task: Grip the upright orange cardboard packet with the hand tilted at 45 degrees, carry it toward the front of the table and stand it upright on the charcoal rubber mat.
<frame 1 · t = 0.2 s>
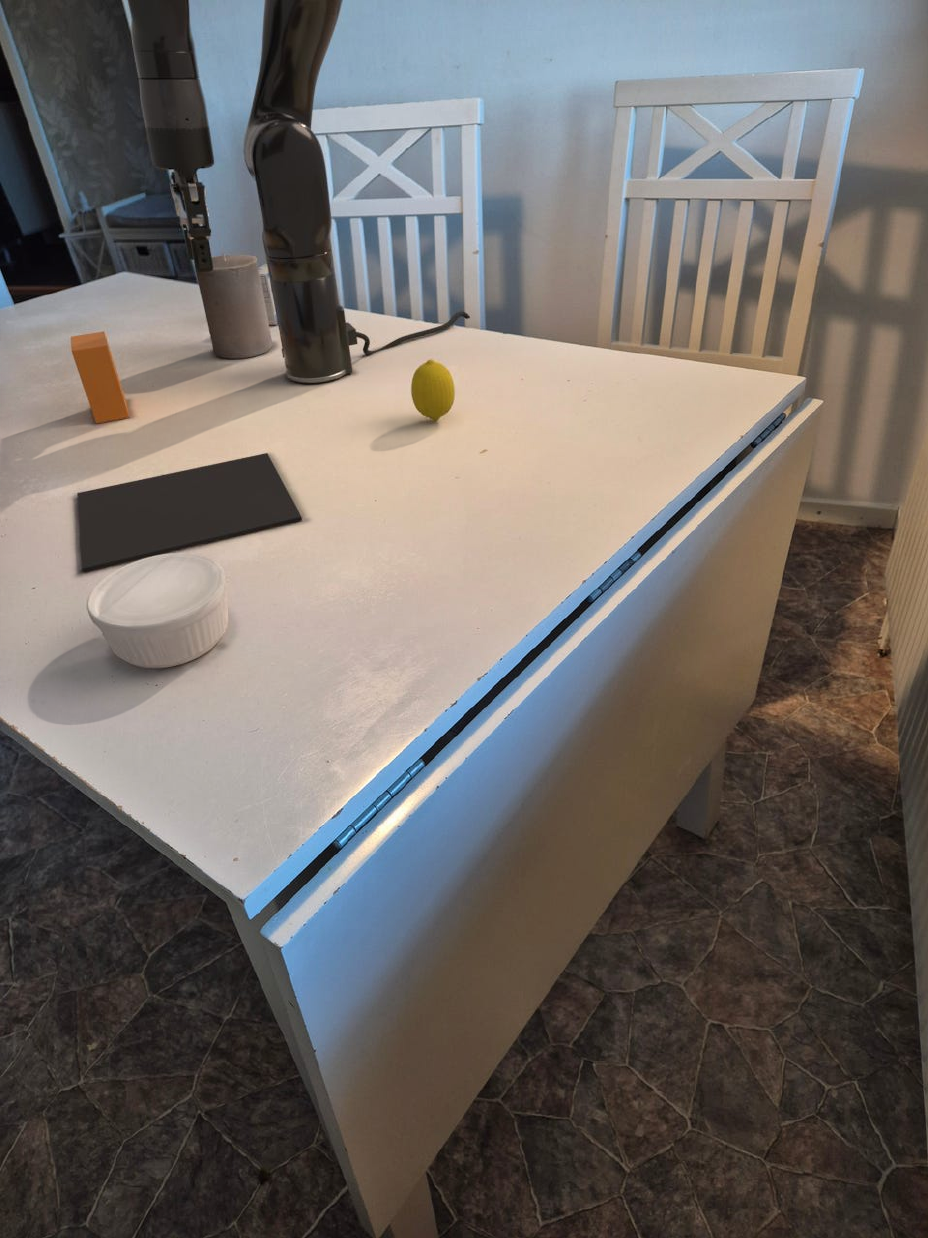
hand: (200, 264, 108), 17 cm above the table, tool pointing down, fingers open, 8 cm apart
ramekin: (173, 638, 70), on the table
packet: (111, 412, 114), on the table
lemon: (435, 422, 105), on the table
medicine box: (273, 320, 148), on the table
mat: (185, 508, 89), on the table
pillar candle: (244, 350, 134), on the table
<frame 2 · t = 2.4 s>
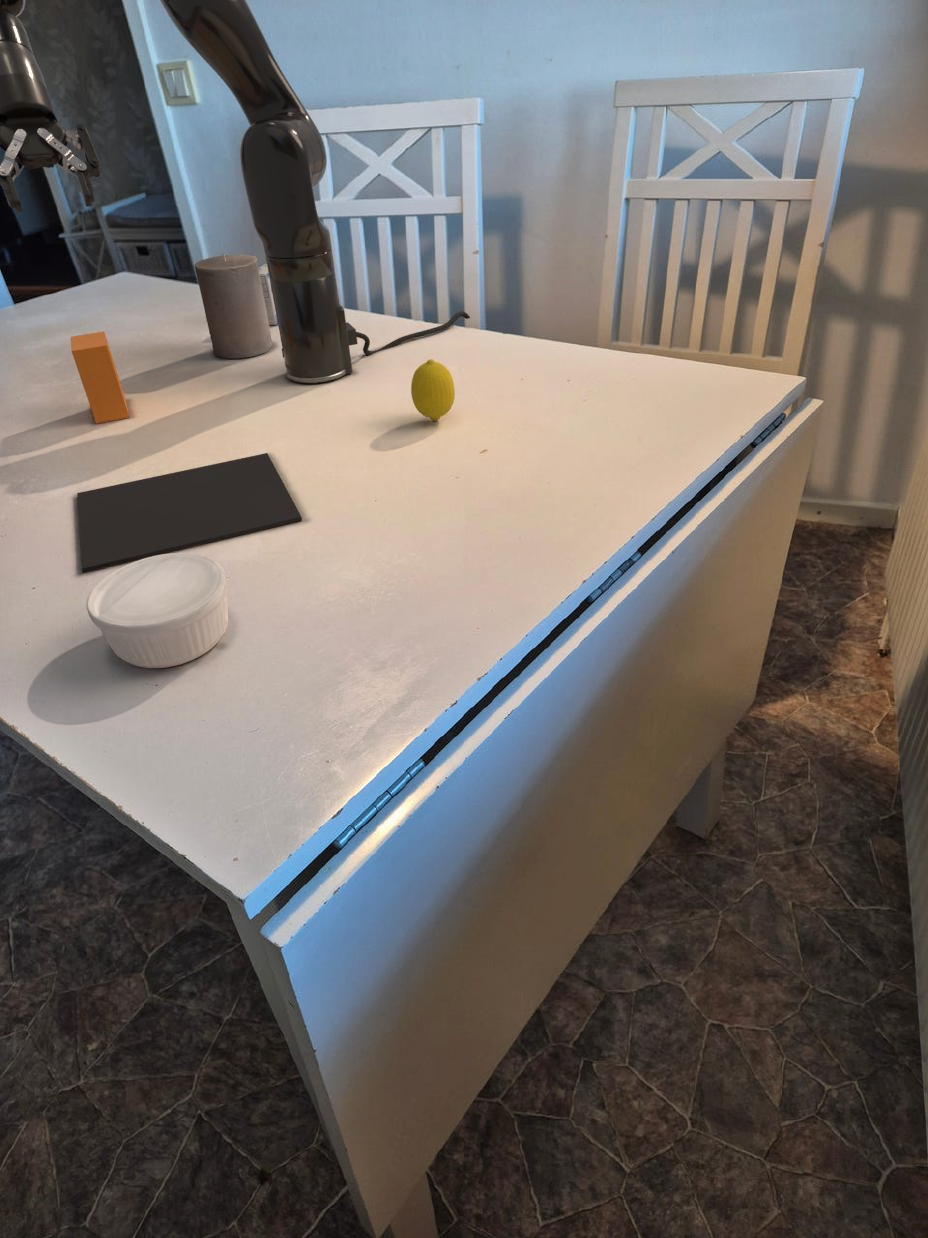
hand: (54, 205, 107), 25 cm above the table, tool tilted 40°, fingers open, 8 cm apart
nothing on the table moved.
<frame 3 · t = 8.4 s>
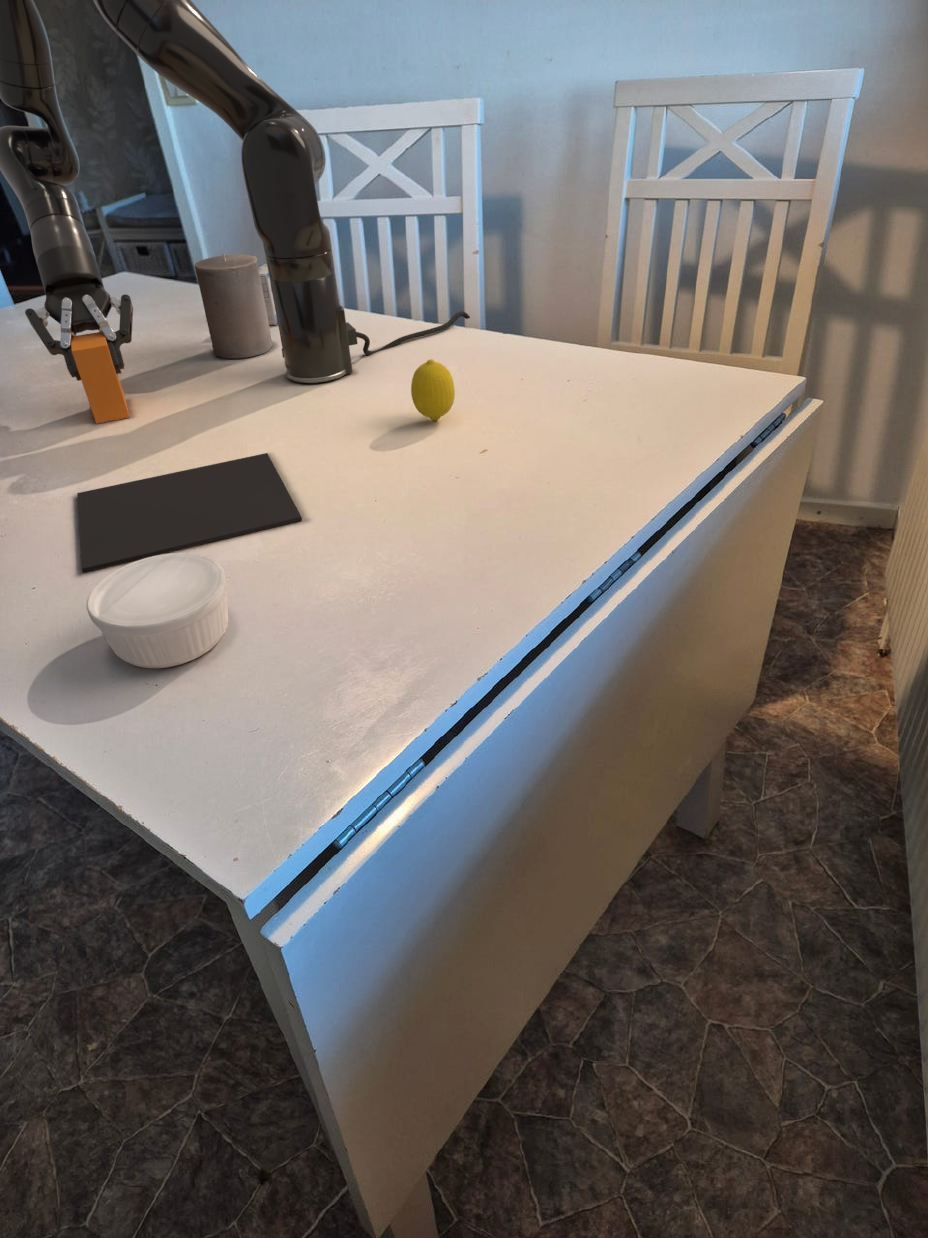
hand: (98, 373, 109), 6 cm above the table, tool tilted 45°, fingers closed on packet, 4 cm apart
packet: (111, 412, 114), on the table, touching gripper
everything else where it was.
when the fingers open (7 cm above the table, at t = 19.9 s): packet stays where it is, resting on mat.
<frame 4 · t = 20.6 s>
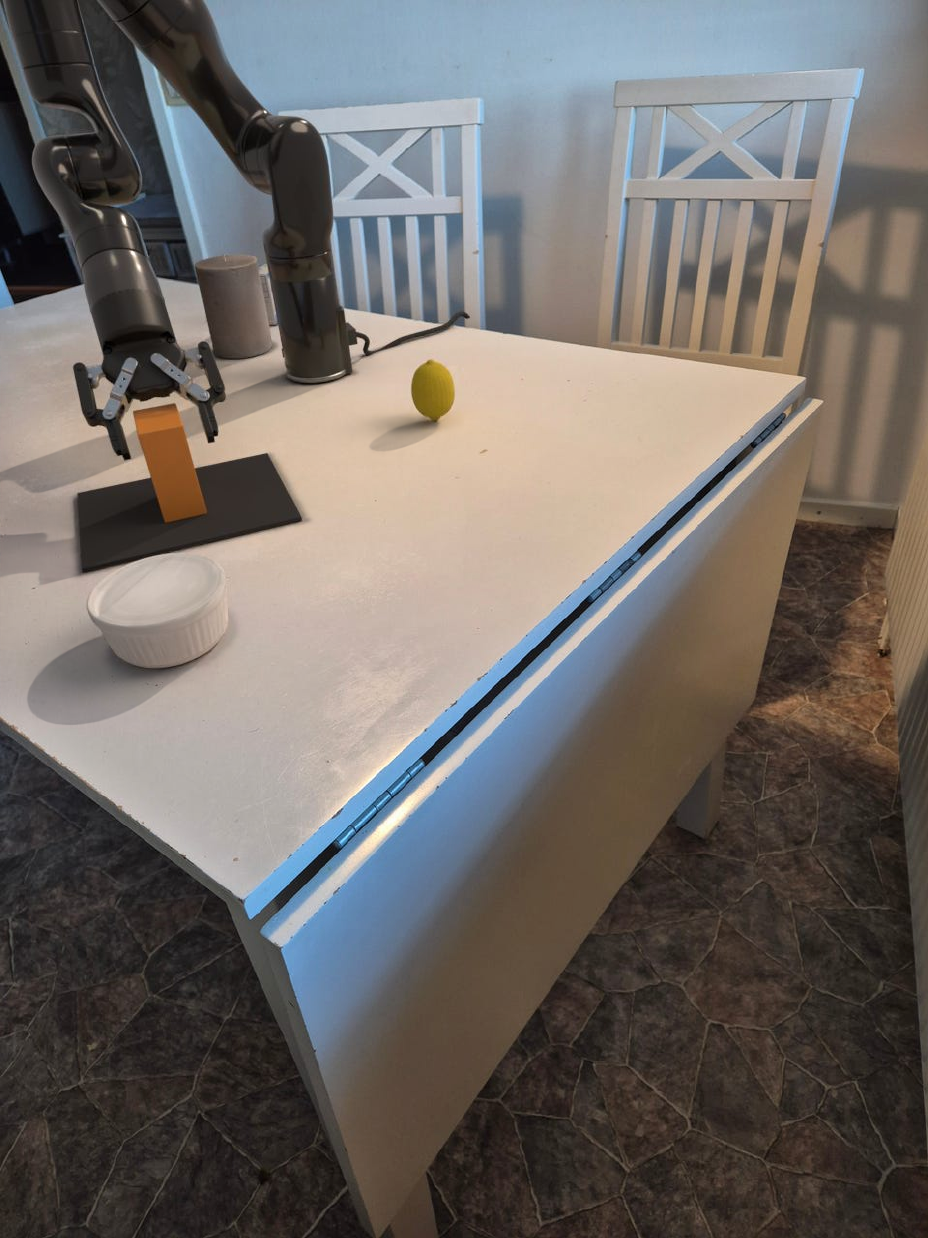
hand: (169, 448, 84), 8 cm above the table, tool tilted 45°, fingers open, 8 cm apart
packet: (182, 504, 89), resting on mat
everything else where it was.
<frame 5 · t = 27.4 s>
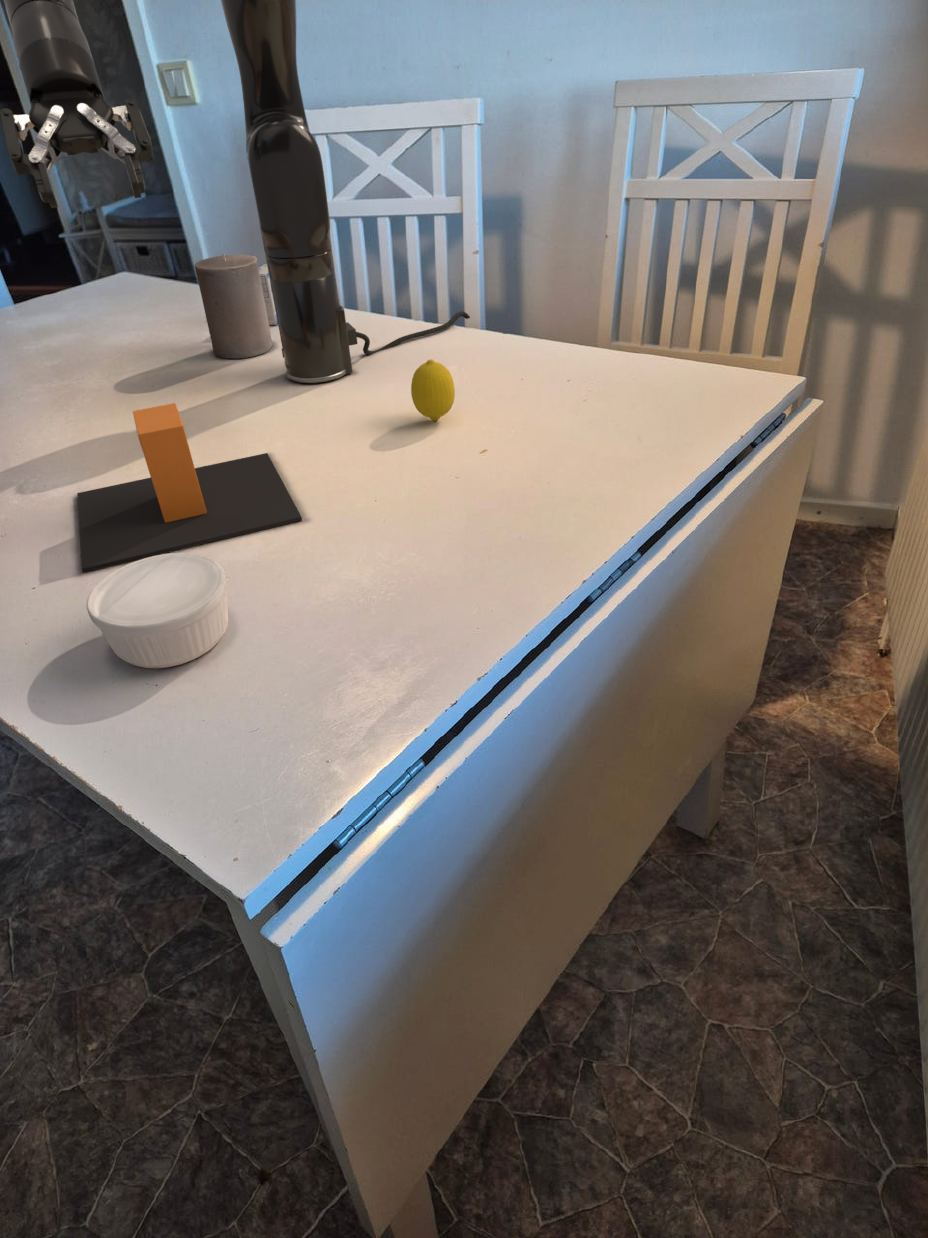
hand: (95, 197, 86), 29 cm above the table, tool tilted 45°, fingers open, 8 cm apart
nothing on the table moved.
at the end: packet inside the target area on the mat (0.2 cm from its centre), point 0.5 cm above the mat's base; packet tilted 0°; the gripper is holding nothing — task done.
